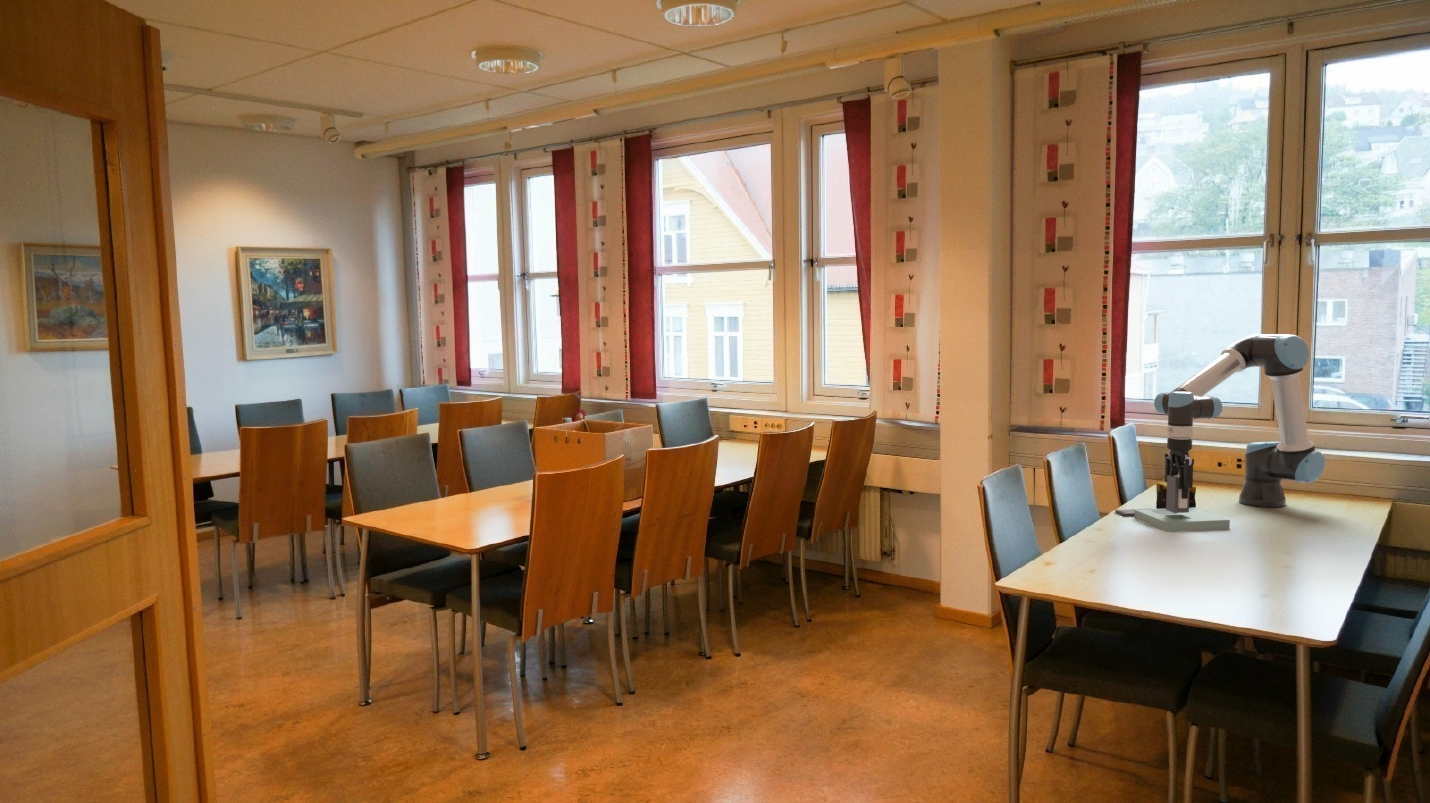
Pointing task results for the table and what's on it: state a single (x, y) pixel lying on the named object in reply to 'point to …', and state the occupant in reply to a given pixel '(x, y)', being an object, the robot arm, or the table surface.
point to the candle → (1162, 496)
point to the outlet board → (1182, 520)
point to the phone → (1127, 512)
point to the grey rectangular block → (1174, 495)
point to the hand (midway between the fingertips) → (1177, 505)
